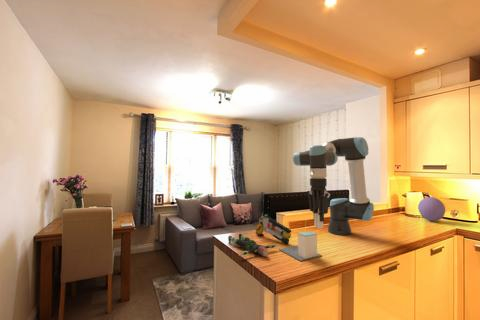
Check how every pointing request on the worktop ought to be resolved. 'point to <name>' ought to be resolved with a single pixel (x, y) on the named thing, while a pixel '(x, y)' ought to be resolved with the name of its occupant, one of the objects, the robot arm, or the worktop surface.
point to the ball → (431, 208)
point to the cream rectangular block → (307, 244)
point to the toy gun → (273, 229)
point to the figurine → (250, 245)
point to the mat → (296, 253)
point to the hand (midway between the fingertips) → (318, 227)
